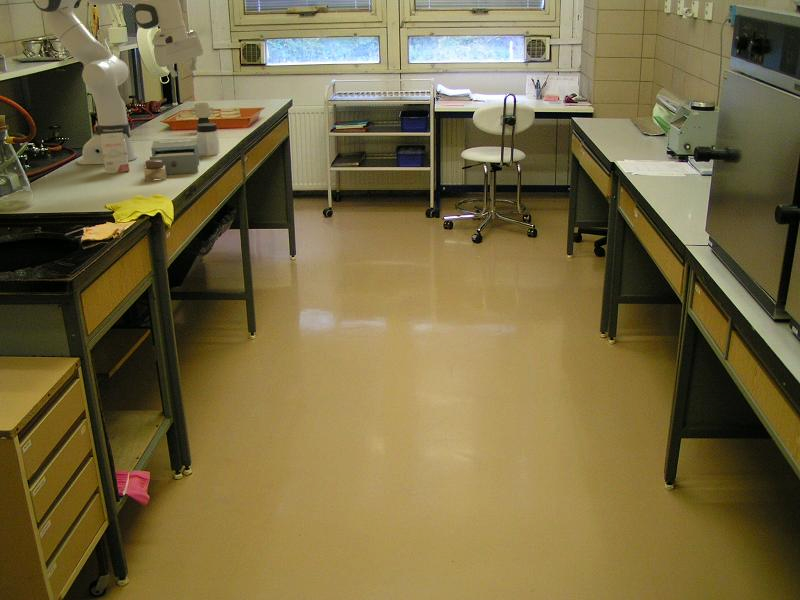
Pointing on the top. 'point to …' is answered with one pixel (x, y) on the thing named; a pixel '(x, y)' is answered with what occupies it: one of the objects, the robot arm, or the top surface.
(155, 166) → the puck
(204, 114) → the character mug
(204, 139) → the jar
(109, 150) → the ink cartridge box
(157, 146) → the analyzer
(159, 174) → the block
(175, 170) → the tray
